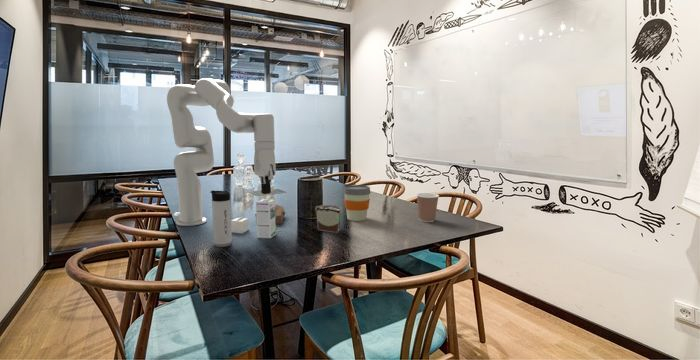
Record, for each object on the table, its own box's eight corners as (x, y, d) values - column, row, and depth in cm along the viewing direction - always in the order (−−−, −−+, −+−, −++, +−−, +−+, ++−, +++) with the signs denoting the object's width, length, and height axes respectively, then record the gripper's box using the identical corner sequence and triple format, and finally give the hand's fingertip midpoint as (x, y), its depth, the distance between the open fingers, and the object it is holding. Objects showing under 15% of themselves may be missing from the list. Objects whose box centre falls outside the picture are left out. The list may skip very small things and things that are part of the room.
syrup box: (270, 238, 147) (270, 201, 145) (256, 237, 148) (255, 201, 146) (276, 234, 152) (275, 199, 150) (262, 233, 153) (261, 198, 151)
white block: (231, 232, 155) (230, 220, 154) (238, 229, 160) (237, 217, 159) (242, 233, 154) (241, 221, 153) (248, 230, 159) (248, 218, 158)
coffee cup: (441, 219, 179) (442, 194, 177) (433, 224, 170) (434, 197, 168) (420, 216, 184) (421, 192, 182) (412, 220, 176) (412, 195, 174)
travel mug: (215, 242, 142) (213, 189, 139) (233, 241, 143) (231, 189, 140) (210, 247, 136) (208, 192, 133) (229, 247, 136) (227, 192, 133)
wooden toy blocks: (255, 232, 167) (259, 216, 184) (285, 228, 168) (287, 213, 185) (252, 216, 164) (256, 202, 181) (282, 212, 165) (284, 198, 183)
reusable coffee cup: (370, 221, 173) (371, 189, 171) (343, 221, 173) (343, 189, 171) (369, 215, 186) (369, 185, 184) (343, 215, 186) (344, 184, 184)
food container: (347, 229, 160) (347, 206, 159) (341, 233, 155) (341, 209, 153) (322, 226, 166) (322, 203, 164) (314, 229, 160) (314, 206, 159)
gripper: (247, 145, 148) (249, 192, 151) (264, 147, 137) (265, 197, 139) (264, 145, 153) (266, 190, 156) (282, 146, 141) (284, 195, 144)
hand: (266, 193), depth 147 cm, fingers closed
